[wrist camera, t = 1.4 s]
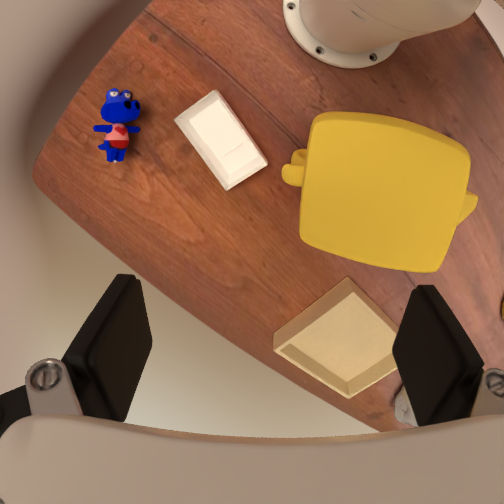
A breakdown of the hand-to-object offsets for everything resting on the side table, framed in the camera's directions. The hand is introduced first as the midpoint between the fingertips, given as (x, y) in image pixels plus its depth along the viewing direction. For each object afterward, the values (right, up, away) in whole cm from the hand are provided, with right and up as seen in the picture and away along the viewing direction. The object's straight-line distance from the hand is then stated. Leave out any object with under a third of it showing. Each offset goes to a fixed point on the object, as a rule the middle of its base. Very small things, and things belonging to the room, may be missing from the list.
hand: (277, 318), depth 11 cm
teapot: (+10, +6, +12) cm, 16 cm away
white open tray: (-4, +13, +19) cm, 23 cm away
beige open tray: (+13, -10, +34) cm, 38 cm away
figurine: (-16, +11, +20) cm, 28 cm away
